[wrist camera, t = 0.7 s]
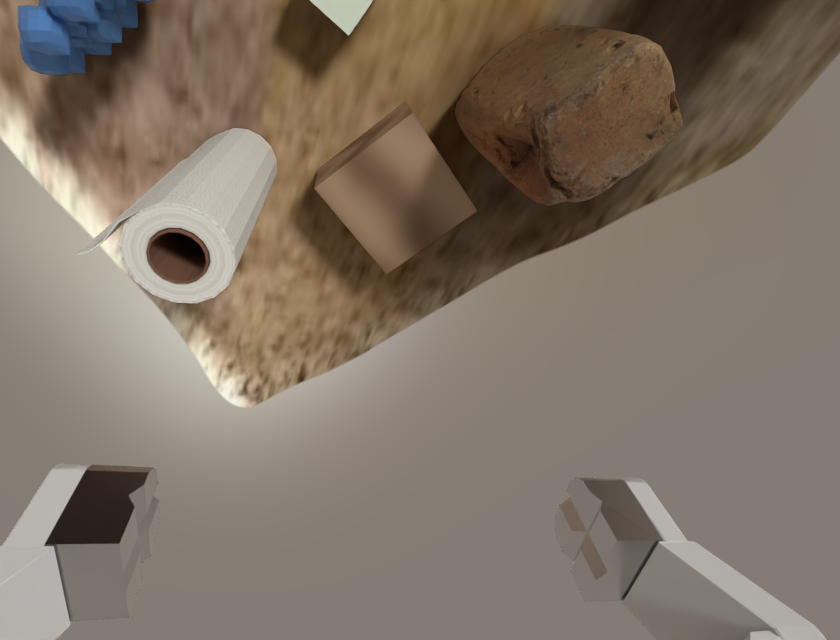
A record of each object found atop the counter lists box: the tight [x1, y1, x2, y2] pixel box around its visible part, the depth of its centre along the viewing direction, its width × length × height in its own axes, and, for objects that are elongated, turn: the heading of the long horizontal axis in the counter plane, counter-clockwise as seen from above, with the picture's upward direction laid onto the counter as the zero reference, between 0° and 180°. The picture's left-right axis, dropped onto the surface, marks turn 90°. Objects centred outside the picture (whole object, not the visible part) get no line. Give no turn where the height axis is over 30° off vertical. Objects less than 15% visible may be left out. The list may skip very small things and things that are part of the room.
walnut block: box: [314, 102, 477, 274], centre depth 46 cm, size 10×10×6 cm
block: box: [455, 25, 683, 206], centre depth 38 cm, size 11×8×20 cm
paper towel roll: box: [78, 128, 277, 303], centre depth 37 cm, size 7×6×21 cm
